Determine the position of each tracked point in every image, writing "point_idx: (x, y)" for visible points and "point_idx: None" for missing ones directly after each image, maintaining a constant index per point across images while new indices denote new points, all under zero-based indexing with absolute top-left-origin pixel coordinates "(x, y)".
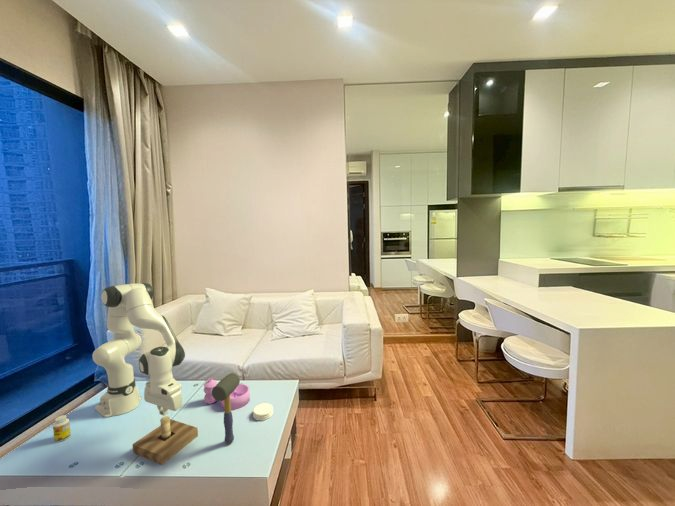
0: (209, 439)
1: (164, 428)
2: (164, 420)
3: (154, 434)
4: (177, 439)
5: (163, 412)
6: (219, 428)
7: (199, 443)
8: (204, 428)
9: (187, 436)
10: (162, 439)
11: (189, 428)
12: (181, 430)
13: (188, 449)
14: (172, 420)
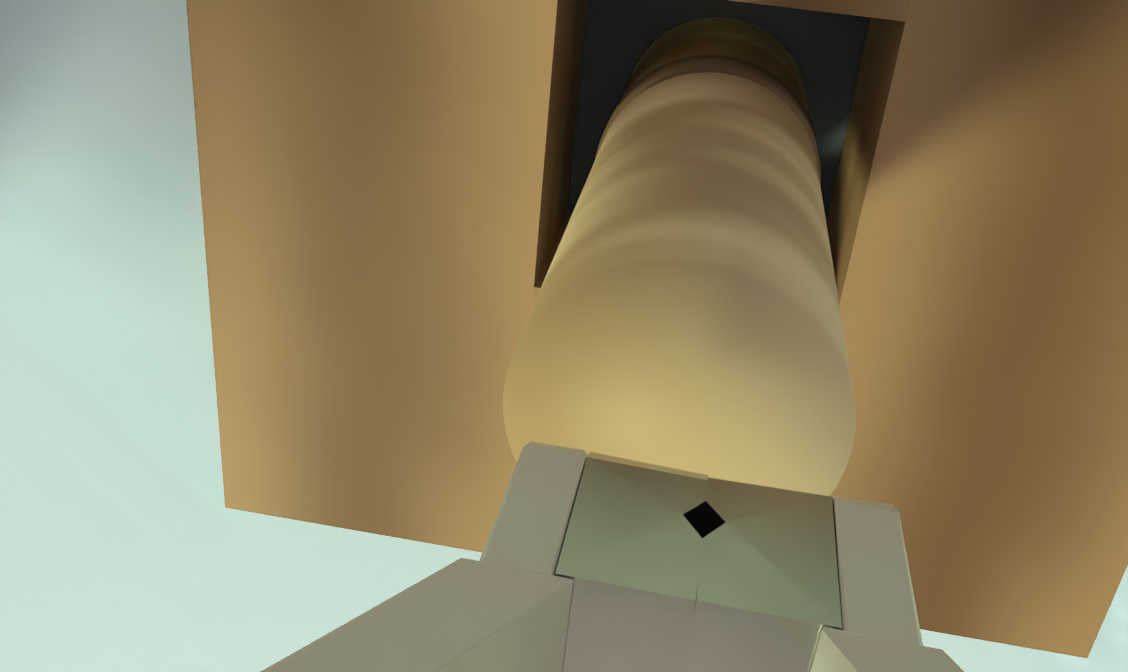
0: (37, 374)
1: (613, 171)
2: (590, 325)
3: (1085, 134)
4: (301, 117)
5: (497, 554)
6: (116, 603)
7: (105, 260)
8: (347, 574)
9: (215, 268)
10: (732, 59)
11: (366, 467)
12: (480, 387)
13: (151, 84)
14: (984, 623)
